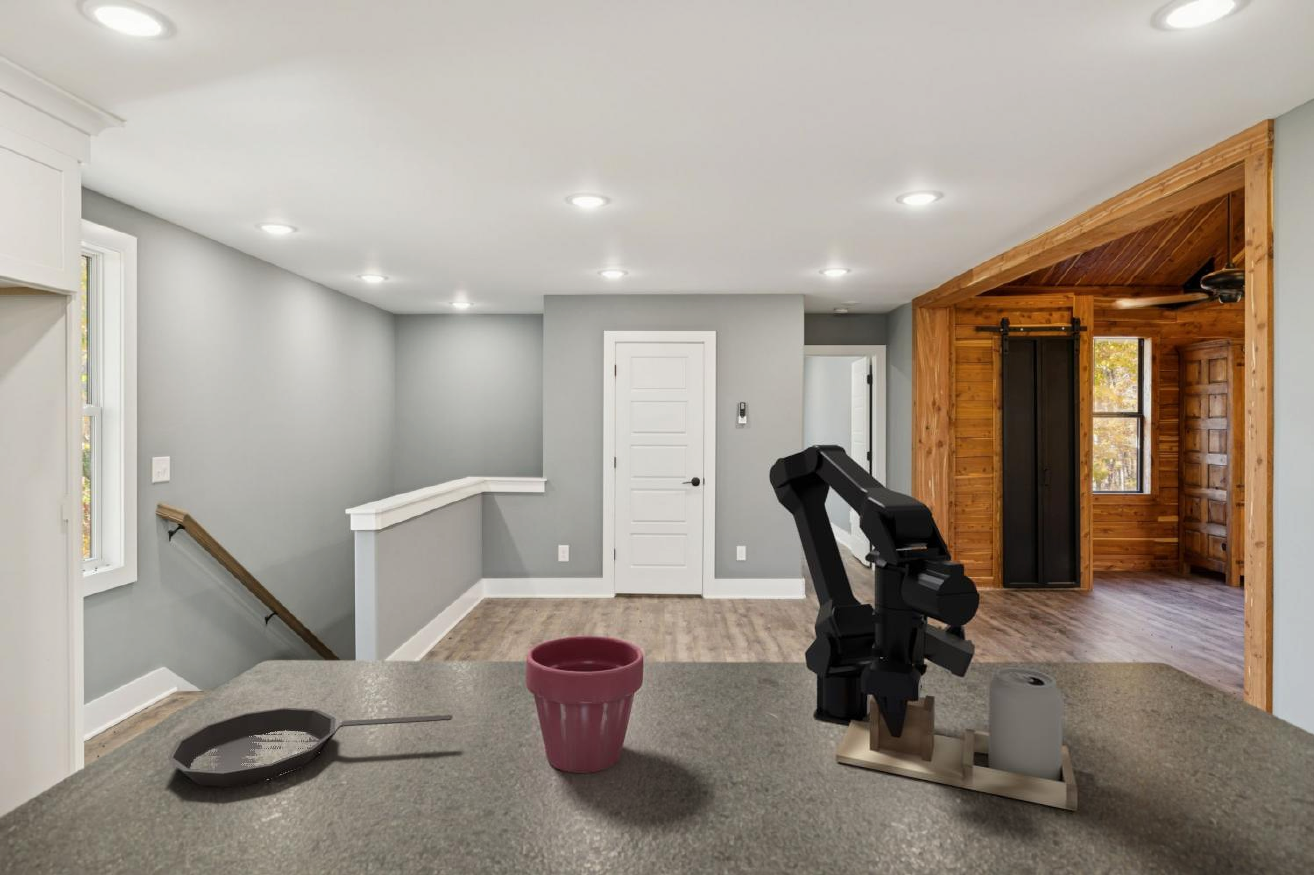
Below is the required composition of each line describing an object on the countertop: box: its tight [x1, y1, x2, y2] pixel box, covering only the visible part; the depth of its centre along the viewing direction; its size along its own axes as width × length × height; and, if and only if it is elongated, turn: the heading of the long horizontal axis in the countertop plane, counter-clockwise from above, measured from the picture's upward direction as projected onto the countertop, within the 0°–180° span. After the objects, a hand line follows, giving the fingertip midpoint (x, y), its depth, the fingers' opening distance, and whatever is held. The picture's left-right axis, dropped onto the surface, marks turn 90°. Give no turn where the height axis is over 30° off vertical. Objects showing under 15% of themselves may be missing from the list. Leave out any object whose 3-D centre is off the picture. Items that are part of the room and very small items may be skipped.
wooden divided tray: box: [835, 694, 1078, 812], centre depth 83 cm, size 25×11×7 cm, turn 65°
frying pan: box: [167, 707, 453, 788], centre depth 86 cm, size 18×32×4 cm, turn 99°
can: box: [987, 666, 1064, 782], centre depth 80 cm, size 8×8×12 cm
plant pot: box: [525, 635, 644, 774], centre depth 86 cm, size 14×14×13 cm
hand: (897, 730), depth 86 cm, fingers open, 4 cm apart
